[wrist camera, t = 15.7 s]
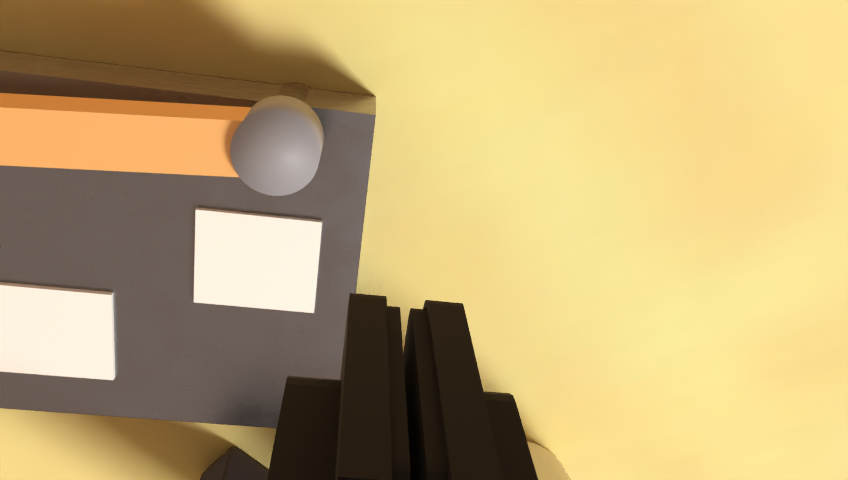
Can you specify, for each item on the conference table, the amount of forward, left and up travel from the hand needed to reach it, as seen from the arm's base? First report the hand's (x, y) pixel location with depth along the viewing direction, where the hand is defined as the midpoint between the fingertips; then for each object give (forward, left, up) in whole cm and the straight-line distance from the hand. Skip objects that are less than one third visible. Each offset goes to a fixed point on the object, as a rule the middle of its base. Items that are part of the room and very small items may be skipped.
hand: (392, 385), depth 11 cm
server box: (+11, +11, -29) cm, 33 cm away
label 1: (+15, +15, -25) cm, 33 cm away
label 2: (+5, +10, -25) cm, 27 cm away
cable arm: (+12, +4, -23) cm, 26 cm away
